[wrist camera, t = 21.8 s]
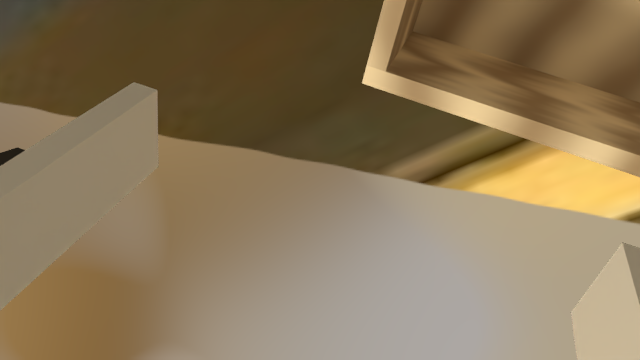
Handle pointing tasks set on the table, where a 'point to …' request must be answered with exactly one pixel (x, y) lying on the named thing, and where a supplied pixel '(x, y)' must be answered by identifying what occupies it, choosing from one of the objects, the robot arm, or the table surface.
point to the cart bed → (521, 68)
